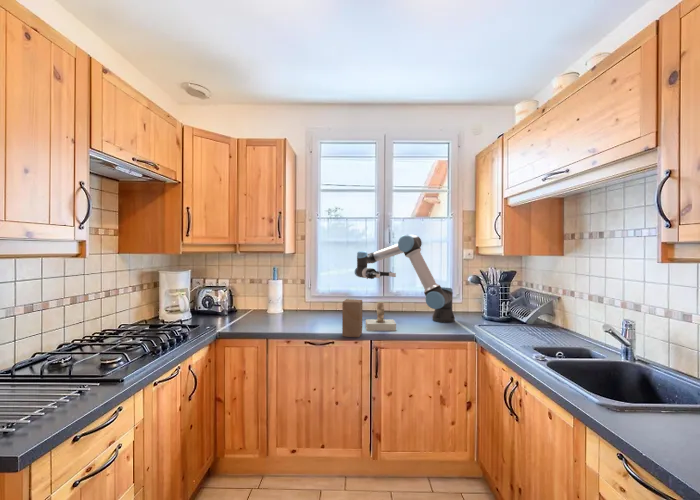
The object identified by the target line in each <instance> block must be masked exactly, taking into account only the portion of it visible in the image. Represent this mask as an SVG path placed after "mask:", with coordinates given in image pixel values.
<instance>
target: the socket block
mask: <svg viewBox="0 0 700 500" xmlns="http://www.w3.org/2000/svg"><path fill="white" fill-rule="evenodd" d="M377 321H378V320H377V319H371V318H370V319H369V318H367V319H365V328H366V331H368V332H370V331H372V332H373V331H377V332H378V331H381V332H382V331H386V332H387V331H388V332H389V331H394V332H396V331H397V323H396V321H395V319H386V318H385V319H384V320H383V321H384V322H383V323H378V322H377Z"/></svg>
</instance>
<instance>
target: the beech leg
mask: <svg viewBox="0 0 700 500" xmlns="http://www.w3.org/2000/svg"><path fill="white" fill-rule="evenodd" d="M376 315H377V317H376V318H377V320H378V321H377V322H378V323H383V322H384V321H383V320H384V318H385V317H384V316H385V302H383V301H379V302H377V303H376Z"/></svg>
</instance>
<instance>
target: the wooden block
mask: <svg viewBox="0 0 700 500" xmlns="http://www.w3.org/2000/svg"><path fill="white" fill-rule="evenodd" d="M341 307H342V311H341V312H342V313H341V314H342V318H341V319H342V324H341V326H342V328H341V329H342V330H341V331H342V333H341V336H342V337H345V338H360V337H361V335H362V334H363V299H349V298H347V299H344V300H343V301H342V306H341Z"/></svg>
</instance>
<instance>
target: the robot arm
mask: <svg viewBox="0 0 700 500" xmlns="http://www.w3.org/2000/svg"><path fill="white" fill-rule="evenodd" d="M422 243H423V242H422V238H420V236H418V235H417V234H408V233H407V234H403V235H401V236H400V237H399V238H398V241H397V243H396V244H393V245H390V246H388V247H385V248H382V249H379V250H376V251H374V252H370V253H368V252H367V251H357V252H356V267H355V269H354V275H355V277H358V278H362V279H367V280H368V279H371V280H372V279H375V278H376V279H380V278H381V277H390V278H391V277H392V278H396V277H397V273H396V272H393V271H378V270H376V269H374V268H373V267H372V268H371V267H368V264H375V263H377V262H379V261H382V260H386V259H388V258H391V257H395V256H398V255H401V254H404V256H405V258H408V259H409V260H410V263H411V266H412V267H413V269H414V271H415V272H416V274H417V277H418V279H419V281H420V283H421V285H422V287H423V289H424V291H423V294H424V296H425V304H426V306H428V307H429V308H431V309H433V310H434V311H433V313H432V321H433V322H437V323H447V324H448V323H453V322H455V321H456V317H455V314H454V311H453V297H454V296H453V295H454V292H453V289H452V288H451V287H445V286H444V287H443V286H441V285H440V284H438V283H437V282H436V280H435V278H434V276H433V275H432V272H431V270H430V269H429V267H428V265H427V263H426V261H425V259H424V257H423V255H422V253H421V250H422V248H421V247H422Z"/></svg>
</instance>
